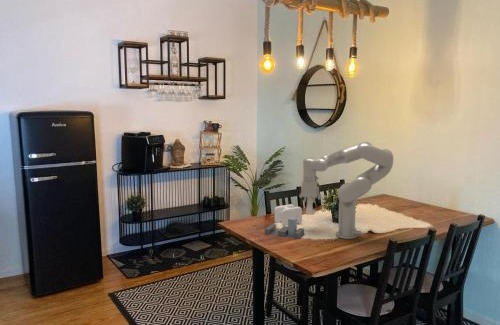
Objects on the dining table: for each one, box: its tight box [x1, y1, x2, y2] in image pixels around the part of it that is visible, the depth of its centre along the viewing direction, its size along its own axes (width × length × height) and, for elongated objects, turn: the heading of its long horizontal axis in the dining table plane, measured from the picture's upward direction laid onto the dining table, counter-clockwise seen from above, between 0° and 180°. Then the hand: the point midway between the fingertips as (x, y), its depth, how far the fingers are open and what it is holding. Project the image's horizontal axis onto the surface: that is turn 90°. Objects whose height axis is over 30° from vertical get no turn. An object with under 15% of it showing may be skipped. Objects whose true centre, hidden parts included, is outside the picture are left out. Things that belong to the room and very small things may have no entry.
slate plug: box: [287, 217, 298, 236], centre depth 232 cm, size 4×4×10 cm
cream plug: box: [305, 197, 316, 215], centre depth 237 cm, size 4×4×10 cm
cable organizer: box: [274, 203, 303, 226], centre depth 256 cm, size 15×11×12 cm
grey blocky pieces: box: [263, 224, 306, 240], centre depth 235 cm, size 23×10×4 cm, turn 64°
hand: (310, 208), depth 237 cm, fingers closed on cream plug, 3 cm apart
